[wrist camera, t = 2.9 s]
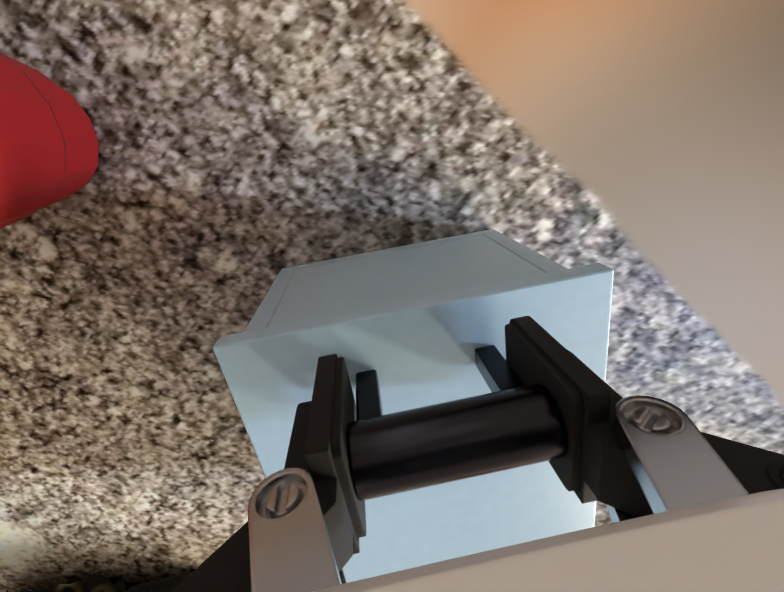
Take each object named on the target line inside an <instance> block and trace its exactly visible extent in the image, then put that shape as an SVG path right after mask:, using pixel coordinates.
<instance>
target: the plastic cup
mask: <svg viewBox="0 0 784 592" xmlns="http://www.w3.org/2000/svg"><path fill="white" fill-rule="evenodd" d="M98 154H99V142H98V139H97V136H96V134H95V131H94V128H93V125H92V123H91V120H90V118H89V116H88V115H87V114H86V113H85V111H84V110H83V109H82V108H81V106H80V105H79V104H78V102H77V101H76V100H75V99H74V97H73V96H72V95H71V94H70V93H68V92H67V91H65V90H64V89H63V88H61V87H60V86H58V85H57V84H56V83H54V82H53V81H51V80H50V79H48V78H47V77H46V76H44V75H43V74H41V73H40V72H39V71H37V70H36V69H33V68H31V67H29V66H27V65H25V64H23V63H21V62H19V61H17V60H14V59H12V58H10V57H8V56H6V55H4V54H2V53H0V229H1V228H3V227H5V226H8V225H10V224H13V223H15V222H17V221H20V220H22V219H25V218H27V217H28V216H30V215H32V214H33V213H35V212H37V211H38V210H40V209H42V208H44V207H47V206H49V205H52V204H54V203H56V202H59V201H61V200H64V199H65V198H67V197H69V196H70V195H72V194H74V193H75V192H77V191H79V190H80V189H82V188H83V187H84V186H85V185H86V184H88V183H89V181H90V179H91V178H92V176H93V174H94V172H95V170H96V169H97V167H98Z"/></svg>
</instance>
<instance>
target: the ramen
mask: <svg viewBox="0 0 784 592" xmlns="http://www.w3.org/2000/svg"><path fill="white" fill-rule="evenodd" d="M188 576H189V575H178V576H171V577H167V578H163V579H159V580H155V581H151V582H145V583H141V584H138V585H135V586H133V587H131V588H130V589H129V590H127V591H126V592H172V591H173V590H174V589H175V588H176V587H177V586H178V585H179V584H180V583H181V582H183V581H184V580H185V579H186V578H187V577H188ZM6 592H8V589H7V591H6ZM16 592H125V584H124V582H123V581H122V579H121V580H120V581H119V582H118V583H117V584H116V585H115V584H113V583H112V582H110V581H109V580H107V579H105V578H103V577H101V576H99V575H96V574H93V573H92V575H91V577H90V579H89V581H78V582H75V583H72V584H59V583H56V582H53V584H52V587H51V589H50V590H35V591H30V590H28V589H26V588H25V587H21V588H20V589H19V590H18V591H16Z"/></svg>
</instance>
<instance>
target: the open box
mask: <svg viewBox="0 0 784 592" xmlns="http://www.w3.org/2000/svg"><path fill="white" fill-rule="evenodd" d="M565 269H567V268H565V267H563V266H561V265H560V264H558V263H556V262H554V261H552V260H550V259H548V258H546V257H545V256H543V255H541V254H539V253H537V252H535V251H533V250H531V249H529V248H528V247H526V246H524V245H522V244H520V243H518V242H516V241H514V240H512V239H511V238H509V237H507V236H505V235H503V234H501V233H499V232H497V231H495V230H493V229H489V230H484V231H478V232H473V233H468V234H463V235H457V236H452V237H447V238H441V239H436V240H431V241H425V242H420V243H415V244H409V245H404V246H399V247H393V248H388V249H383V250H377V251H372V252H367V253H361V254H356V255H351V256H346V257H340V258H335V259H330V260H324V261H319V262H314V263H308V264H303V265H298V266H292V267H287V268H282V269H281V271H280V272H279V274H278V275H277V277H276V279H275V280H274V282H273V284H272V285H271V287H270V289H269V290H268V292H267V294H266V296H265V297H264V299H263V301H262V302H261V304H260V306H259V307H258V309H257V311H256V312H255V314H254V316H253V317H252V319H251V321H250V322H249V324H248V326H247V327H246V329H245V331H251V330H256V329H261V328H266V327H271V326H276V325H282V324H287V323H292V322H297V321H302V320H307V319H312V318H318V317H323V316H328V315H333V314H338V313H343V312H348V311H354V310H359V309H364V308H369V307H374V306H379V305H385V304H390V303H395V302H400V301H405V300H410V299H415V298H421V297H426V296H431V295H436V294H441V293H446V292H452V291H457V290H462V289H467V288H472V287H477V286H482V285H488V284H493V283H498V282H503V281H508V280H513V279H519V278H524V277H529V276H534V275H539V274H544V273H549V272H555V271H560V270H565ZM245 331H244V332H245Z"/></svg>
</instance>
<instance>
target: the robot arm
mask: <svg viewBox="0 0 784 592" xmlns="http://www.w3.org/2000/svg"><path fill="white" fill-rule="evenodd" d="M505 347H506V361H507V362H508V364H509V365H510V366H511V368H512V369H513V370H514V372H515V373H516V374H517V376H518V377H519V378H520V380H521V381H522V382H523V384H524V385H525V386H526V385H531V384H541V385H543V386H544V387H545V388H546V389H547V390H548V391H549V392H550V393H551V395H552V396H553V398H554V399H555V401H556V403H557V405H558V407H559V409H560V411H561V414H562V417H563V420H564V423H565V426H566V431H567V436H568V450H567V453H566V455H565V456H564V457H563V458H560V459H555V460H551V461H548V462H549V463H550V465H551V466H552V468H553V470H554V471H555V473H556V474H557V476H558V477H559V479H560V481H561V482H562V484H563V485H564V487H565V488H566V489H567V490H568V491H574V492H575V494H576V495H577V497H578V498H579V500H580V501H581V503H582V504H584V503H588V502H593V501H597V500H598V501H600V502H602V503H605V504H607V509H608V512H609V515H610V518H611V520H612V523H610V524H606V525H601V526H596V527H592V528H587V529H583V530H578V531H574V532H569V533H565V534H560V535H556V536H551V537H547V538H542V539H538V540H533V541H529V542H524V543H520V544H515V545H511V546H506V547H502V548H498V549H493V550H489V551H484V552H480V553H475V554H471V555H466V556H462V557H457V558H453V559H449V560H444V561H440V562H436V563H431V564H427V565H423V566H418V567H414V568H410V569H405V570H401V571H397V572H392V573H388V574H383V575H379V576H375V577H370V578H366V579H362V580H357V581H353V582H349V583H347V581H346V577H345V574H344V570H343V567H344V566H345V565H346V563H347V562H348V561H349V559H350V558H351V557H352V556H353V554H357V553H360V547H359V538H360V537H365V536H366V510H365V501H360V500H358V499H357V497H356V494H355V491H354V488H353V483H352V479H351V474H350V468H349V460H348V452H347V425H348V423H350V422H352V421H356V403H355V399H354V395H353V391H352V387H351V383H350V379H349V375H348V371H347V367H346V363H345V359H344V357H340V358H338V356H337V354H332V355H326V356H321V357H319V358H318V363H317V369H316V376H315V382H314V388H313V395H312V401H308V402H303V403H299V404H298V406H297V409H296V414H295V419H294V423H293V428H292V433H291V438H290V442H289V447H288V452H287V457H286V461H285V466H284V469H283V470H279V471H277V472H275V473H273V474H271V475H270V476H268V477H267V478H266V479H264V480H263V481H262V482H261V483H260V484H259V485H258V486H257V488H256V489H255V490H254V491H253V493H252V496H251V498H250V500H249V505H248V522H247V523H246V524H245V525H243V526H242V527H241V528H240V529H239V530H238V531H237V532H236V533H235V534H234V535H233V536H231V537H230V538H229V539H228V540H227V541H226V542H225V543H224V544H223V545H222V546H221V547H220V548H218V549H217V550H216V551H215V552H214V553H213V554H212V555H211V556H210V557H209V558H208V559H206V560H205V561H204V562H203V563H202V564H201V565H200V566H199V567H198V568H197V569H196V570H195V571H193V572H192V573H191V574H190V575H189V576H188V577H187V578H186V579H185V580H184V581H183V582H181V583H180V584H179V585H178V586H177V587H176V588H175V589H174V590H173V591H172V592H784V455H782V454H779V453H775V452H771V451H768V450H764V449H760V448H757V447H753V446H750V445H746V444H742V443H739V442H735V441H731V440H728V439H724V438H721V437H717V436H713V435H710V434H706V433H703V432H700V431H699V430H698V428H697V427H696V426H695V425H694V423H693V422H692V421H691V419H690V418H689V417H688V416H687V415H686V414H685V413H684V412H683V411H682V410H681V409H680V408H678V407H676V406H675V405H673V404H671V403H669V402H667V401H664V400H662V399H658V398H654V397H650V396H639V395H637V396H628V397H626V398H622V397H621V396H620V395H619V394H617V393H616V392H615V391H614V390H613V389H612V388H611V387H610V386H609V385H607V384H606V383H605V382H604V381H603V380H602V379H601V378H600V377H599V376H597V375H596V374H595V373H594V372H593V371H592V370H591V369H590V368H589V367H587V366H586V365H585V364H584V363H583V362H582V361H581V360H580V359H579V358H577V357H576V356H575V355H574V354H573V353H572V352H570V351H569V350H567V349H566V348H564V347H563V346H562V345H561V344H560V343H559V342H558V341H557V340H556V339H555V338H553V337H552V336H551V335H550V334H549V333H548V332H547V331H546V330H545V329H544V328H542V327H541V326H540V325H539V324H538V323H537V322H536V321H535V320H534V319H533V318H531V317H530V316H523V317H518V318H513V319H511V320H510V322H509V324H506V325H505Z"/></svg>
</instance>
